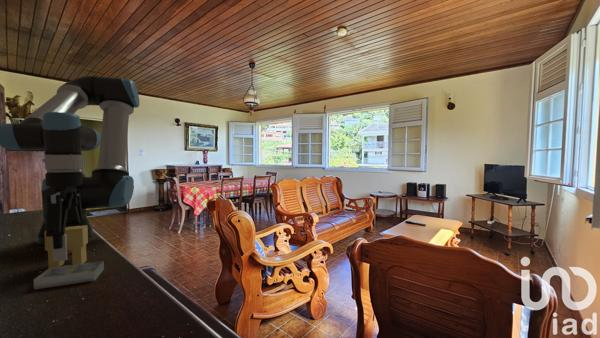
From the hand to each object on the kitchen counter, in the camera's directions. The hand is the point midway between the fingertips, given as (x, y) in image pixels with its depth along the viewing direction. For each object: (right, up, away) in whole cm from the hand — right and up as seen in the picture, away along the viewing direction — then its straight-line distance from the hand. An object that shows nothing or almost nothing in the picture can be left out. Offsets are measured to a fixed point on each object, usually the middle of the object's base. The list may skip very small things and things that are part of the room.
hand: (67, 254), depth 72 cm
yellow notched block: (0, -3, 0) cm, 3 cm away
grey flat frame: (+8, -3, -8) cm, 12 cm away
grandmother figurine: (-8, -3, +11) cm, 14 cm away
